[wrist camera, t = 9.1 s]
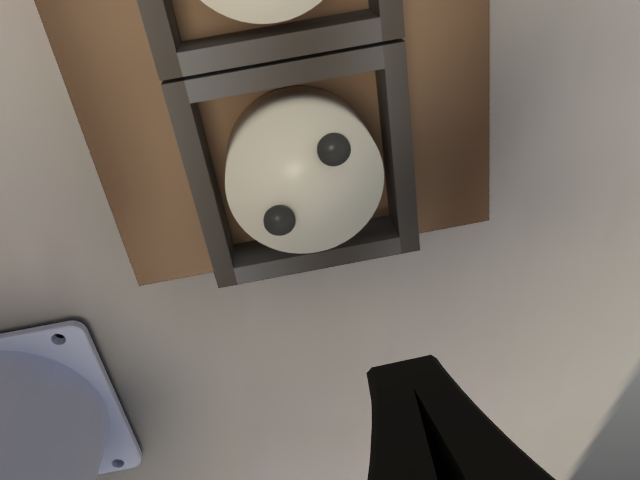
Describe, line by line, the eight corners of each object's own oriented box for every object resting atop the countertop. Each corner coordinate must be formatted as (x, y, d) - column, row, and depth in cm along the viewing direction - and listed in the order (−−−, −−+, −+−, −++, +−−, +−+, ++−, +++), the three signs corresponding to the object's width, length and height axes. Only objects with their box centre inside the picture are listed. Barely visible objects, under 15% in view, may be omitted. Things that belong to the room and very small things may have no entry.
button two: (243, 233, 19) (243, 268, 17) (210, 101, 17) (207, 124, 15) (376, 208, 19) (391, 241, 17) (362, 73, 17) (377, 94, 15)
